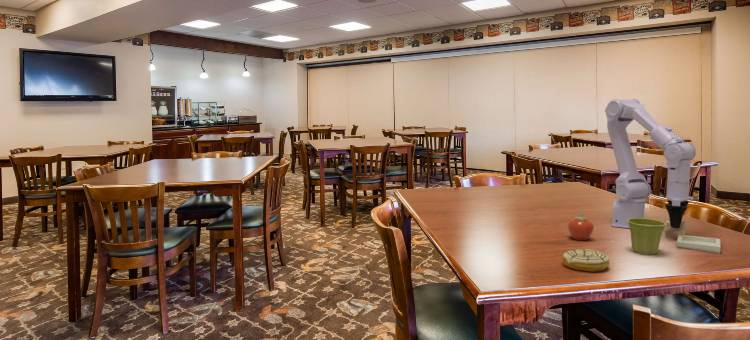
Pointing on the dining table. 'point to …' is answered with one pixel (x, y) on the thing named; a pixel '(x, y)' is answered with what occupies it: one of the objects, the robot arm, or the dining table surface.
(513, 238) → the dining table surface
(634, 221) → the plant pot
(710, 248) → the tray
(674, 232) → the maple block
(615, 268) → the dining table surface
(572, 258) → the decorated donut
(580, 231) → the tomato
